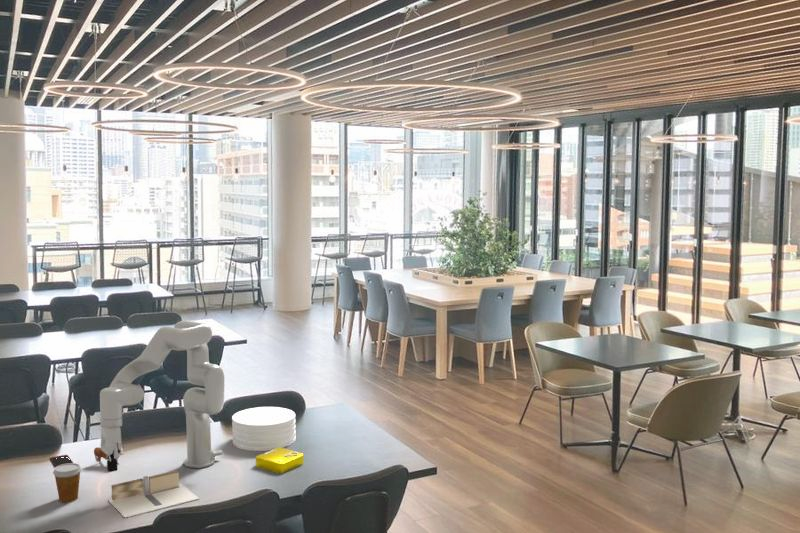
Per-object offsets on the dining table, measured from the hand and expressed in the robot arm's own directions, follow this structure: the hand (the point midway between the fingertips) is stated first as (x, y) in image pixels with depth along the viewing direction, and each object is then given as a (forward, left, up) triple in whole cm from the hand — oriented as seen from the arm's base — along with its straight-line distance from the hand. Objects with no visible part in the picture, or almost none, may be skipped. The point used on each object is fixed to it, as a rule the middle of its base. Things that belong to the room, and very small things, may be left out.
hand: (112, 470), depth 289 cm
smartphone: (+5, -50, -11) cm, 51 cm away
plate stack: (-75, -25, -11) cm, 79 cm away
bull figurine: (-10, -35, -11) cm, 38 cm away
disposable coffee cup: (+13, -9, -11) cm, 19 cm away
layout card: (-11, +11, -10) cm, 19 cm away
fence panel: (-4, +5, -9) cm, 11 cm away
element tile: (-65, +6, -11) cm, 67 cm away
